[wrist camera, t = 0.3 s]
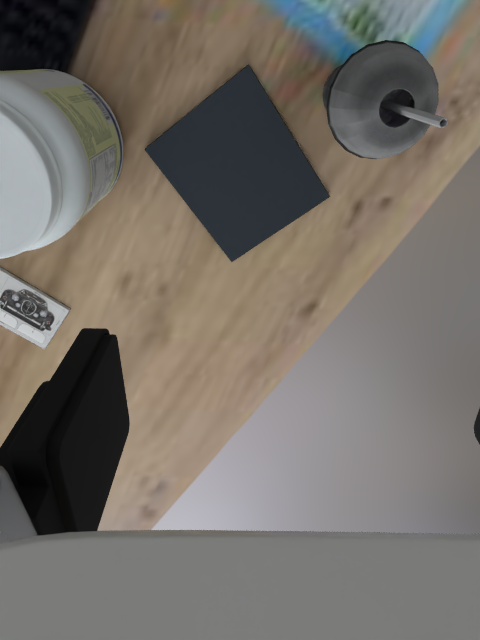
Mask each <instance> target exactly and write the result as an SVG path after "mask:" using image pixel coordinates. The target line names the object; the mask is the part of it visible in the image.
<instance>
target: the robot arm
mask: <svg viewBox="0 0 480 640" xmlns="http://www.w3.org/2000/svg"><path fill="white" fill-rule="evenodd" d="M128 432H129V414H128V407H127V400H126V394H125V387H124V380H123V374H122V367H121V361H120V354H119V347H118V341H117V337H116V335H110V334H109V331H108V330H107V329H91V328H84V329H82V330H81V331H80V333H79V335H78V336H77V338H76V339H75V341H74V343H73V344H72V346H71V347H70V349H69V351H68V352H67V354H66V355H65V357H64V359H63V360H62V362H61V364H60V365H59V367H58V368H57V370H56V372H55V373H54V375H53V376H52V378H51V380H50V381H46V382H43V383H42V384H41V386H40V387H39V388H38V390H37V391H36V393H35V394H34V396H33V398H32V399H31V401H30V402H29V404H28V405H27V407H26V408H25V410H24V412H23V413H22V415H21V416H20V418H19V419H18V421H17V422H16V424H15V426H14V427H13V429H12V430H11V432H10V433H9V435H8V437H7V438H6V440H5V441H4V443H3V444H2V446H1V447H0V640H480V534H440V533H439V534H437V533H435V534H434V533H380V532H314V531H312V532H311V531H308V532H307V531H221V530H219V531H218V530H217V531H216V530H124V531H97V529H98V526H99V523H100V520H101V517H102V514H103V510H104V507H105V504H106V501H107V498H108V495H109V492H110V489H111V486H112V482H113V479H114V476H115V473H116V470H117V467H118V464H119V461H120V458H121V454H122V451H123V448H124V445H125V442H126V439H127V436H128ZM474 433H475V437H476V438H477V440H478V442H479V444H480V409H479V412H478V415H477V418H476V421H475V424H474Z"/></svg>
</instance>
